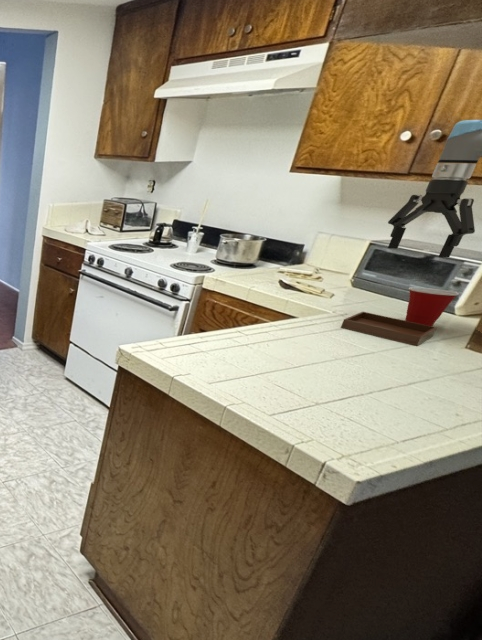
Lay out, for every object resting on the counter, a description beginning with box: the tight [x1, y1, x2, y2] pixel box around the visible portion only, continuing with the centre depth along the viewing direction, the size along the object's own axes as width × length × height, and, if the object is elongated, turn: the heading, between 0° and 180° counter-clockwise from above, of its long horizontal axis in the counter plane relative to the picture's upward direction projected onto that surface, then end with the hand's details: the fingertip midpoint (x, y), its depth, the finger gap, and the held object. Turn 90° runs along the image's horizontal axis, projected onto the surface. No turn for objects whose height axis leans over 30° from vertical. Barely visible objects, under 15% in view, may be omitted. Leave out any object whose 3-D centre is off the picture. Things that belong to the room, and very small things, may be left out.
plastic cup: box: [404, 286, 460, 327], centre depth 148 cm, size 11×11×12 cm
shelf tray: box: [340, 311, 438, 347], centre depth 144 cm, size 17×16×3 cm
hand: (416, 252), depth 143 cm, fingers open, 13 cm apart
